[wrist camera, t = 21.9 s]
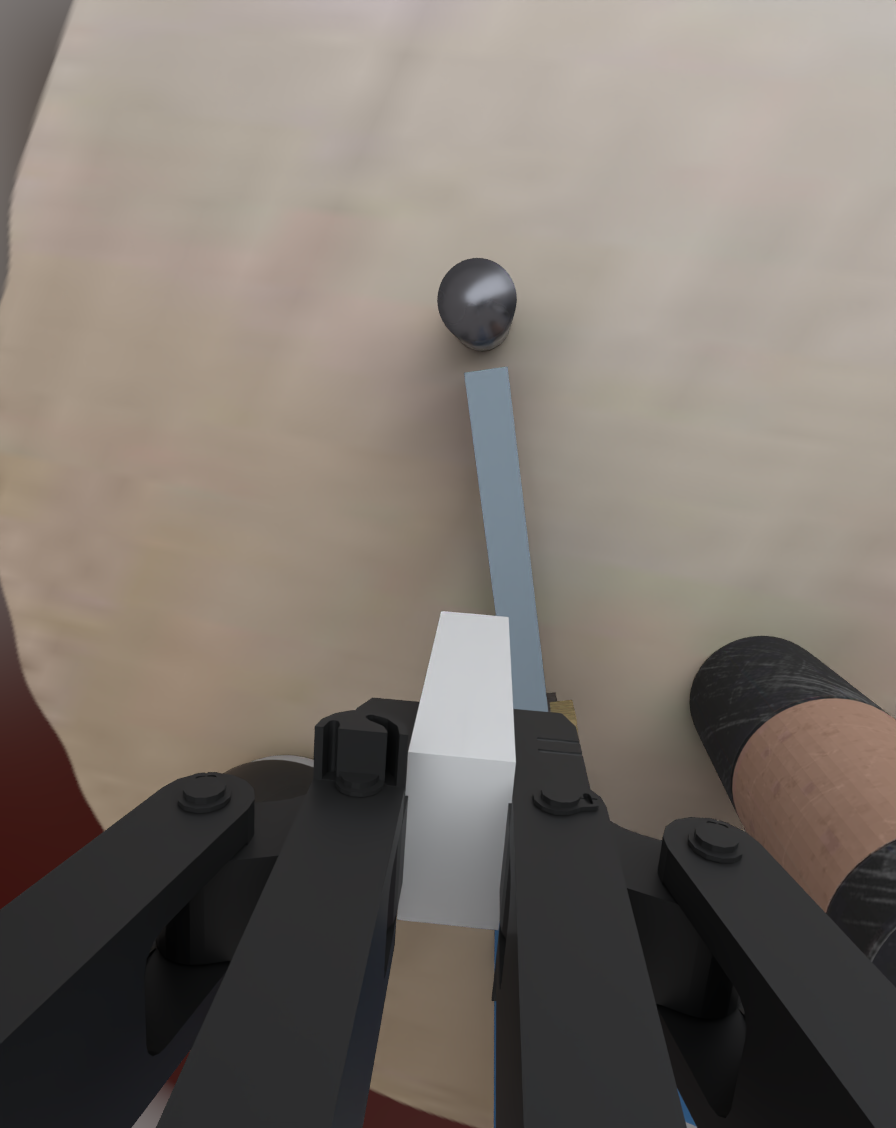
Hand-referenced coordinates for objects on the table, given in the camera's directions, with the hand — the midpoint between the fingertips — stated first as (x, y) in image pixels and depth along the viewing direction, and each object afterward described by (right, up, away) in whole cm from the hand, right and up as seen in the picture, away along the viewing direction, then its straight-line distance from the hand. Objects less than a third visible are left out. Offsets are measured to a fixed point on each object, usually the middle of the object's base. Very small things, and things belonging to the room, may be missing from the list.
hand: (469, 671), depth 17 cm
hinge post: (+1, +14, +20) cm, 24 cm away
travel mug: (+16, -5, +23) cm, 29 cm away
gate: (+3, +4, +21) cm, 22 cm away
